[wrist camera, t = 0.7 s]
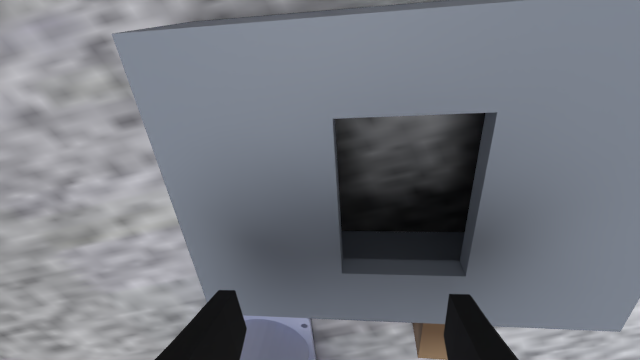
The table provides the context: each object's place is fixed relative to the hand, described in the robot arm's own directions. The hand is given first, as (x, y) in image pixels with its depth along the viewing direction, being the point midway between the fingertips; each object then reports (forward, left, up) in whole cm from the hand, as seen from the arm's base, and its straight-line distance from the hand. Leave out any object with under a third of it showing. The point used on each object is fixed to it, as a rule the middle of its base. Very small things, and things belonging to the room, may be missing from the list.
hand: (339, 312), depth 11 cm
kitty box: (+2, -3, -10) cm, 10 cm away
